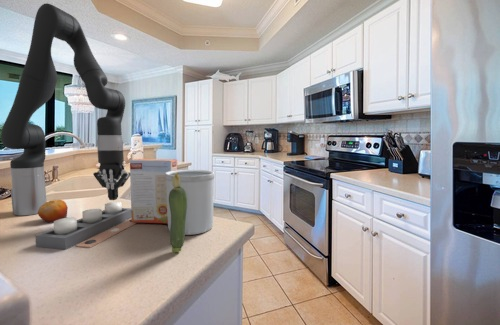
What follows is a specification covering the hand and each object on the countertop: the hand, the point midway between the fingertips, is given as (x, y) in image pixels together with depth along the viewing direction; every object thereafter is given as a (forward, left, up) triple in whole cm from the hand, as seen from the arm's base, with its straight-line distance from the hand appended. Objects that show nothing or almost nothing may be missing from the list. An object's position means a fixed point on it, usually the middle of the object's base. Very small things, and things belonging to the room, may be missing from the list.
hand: (113, 199), depth 84 cm
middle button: (0, -9, -4) cm, 10 cm away
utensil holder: (+29, -2, -7) cm, 30 cm away
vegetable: (+33, -18, -7) cm, 38 cm away
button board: (0, -9, -7) cm, 12 cm away
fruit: (-20, -4, -7) cm, 22 cm away
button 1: (0, -18, -4) cm, 19 cm away
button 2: (0, 0, -4) cm, 5 cm away
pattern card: (+7, -9, -7) cm, 14 cm away
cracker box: (+15, +1, -7) cm, 17 cm away
